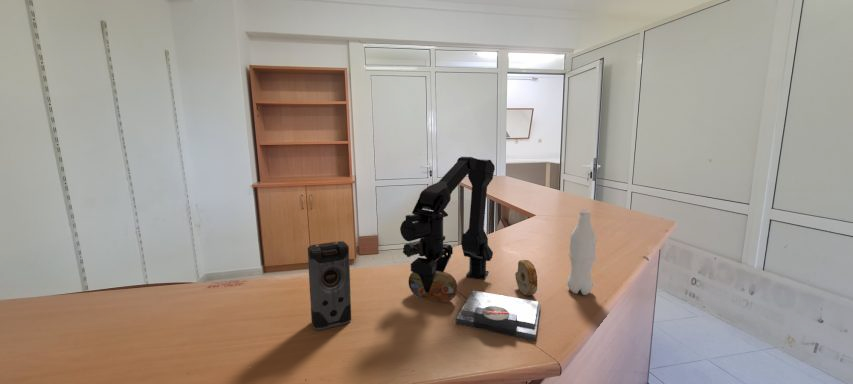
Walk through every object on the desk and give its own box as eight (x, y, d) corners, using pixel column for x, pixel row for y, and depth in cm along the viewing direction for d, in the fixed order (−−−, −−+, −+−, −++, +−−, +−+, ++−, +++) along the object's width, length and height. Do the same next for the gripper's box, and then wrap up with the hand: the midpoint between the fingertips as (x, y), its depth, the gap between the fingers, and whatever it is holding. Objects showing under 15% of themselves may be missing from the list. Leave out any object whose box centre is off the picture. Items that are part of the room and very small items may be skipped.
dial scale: (472, 296, 97) (472, 282, 97) (539, 308, 90) (540, 293, 89) (453, 327, 81) (454, 310, 80) (534, 345, 74) (535, 326, 73)
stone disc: (539, 300, 95) (541, 267, 94) (526, 301, 95) (528, 267, 93) (525, 285, 105) (526, 255, 104) (514, 285, 105) (515, 255, 104)
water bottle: (566, 294, 99) (572, 212, 95) (566, 285, 105) (571, 208, 102) (593, 298, 96) (600, 214, 93) (591, 288, 103) (597, 210, 99)
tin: (408, 294, 99) (407, 268, 98) (413, 290, 102) (413, 264, 100) (454, 306, 92) (454, 277, 91) (458, 301, 95) (459, 273, 93)
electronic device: (314, 332, 79) (310, 252, 76) (310, 320, 84) (306, 245, 81) (352, 322, 83) (350, 246, 80) (347, 312, 88) (344, 240, 86)
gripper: (420, 223, 105) (420, 270, 108) (392, 239, 88) (393, 294, 91) (453, 227, 101) (452, 275, 104) (431, 244, 84) (431, 301, 86)
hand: (433, 285), depth 96 cm, fingers open, 9 cm apart
